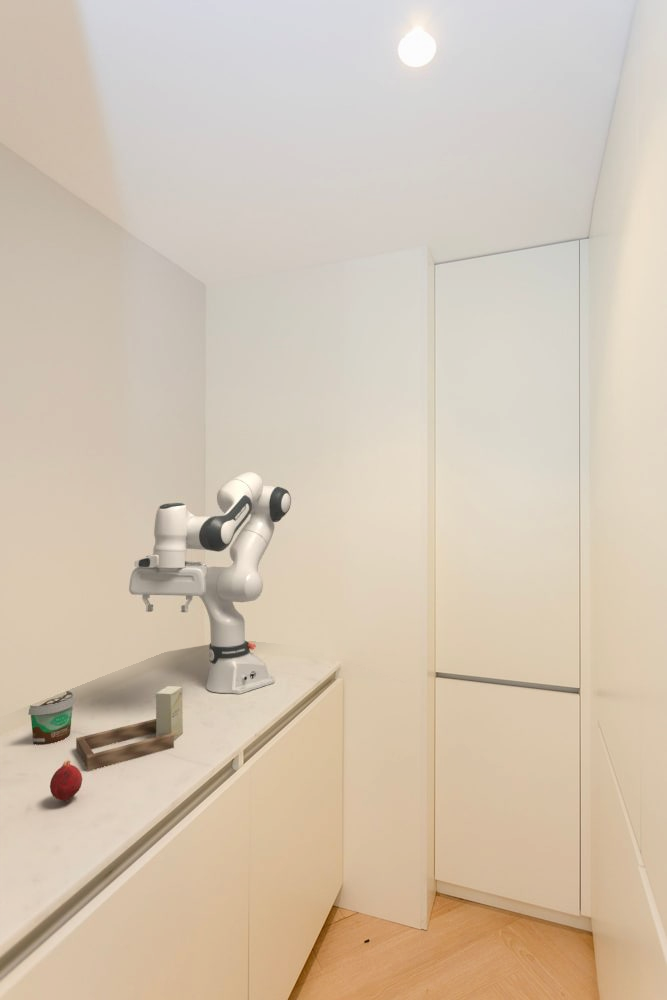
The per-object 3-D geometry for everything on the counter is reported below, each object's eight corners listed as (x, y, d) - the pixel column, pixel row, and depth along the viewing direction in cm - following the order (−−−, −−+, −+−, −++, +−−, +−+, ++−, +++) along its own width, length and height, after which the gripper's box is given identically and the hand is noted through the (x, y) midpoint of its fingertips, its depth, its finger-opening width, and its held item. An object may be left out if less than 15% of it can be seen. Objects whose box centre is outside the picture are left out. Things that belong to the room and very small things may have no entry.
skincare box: (171, 743, 134) (171, 694, 134) (155, 741, 135) (155, 693, 135) (183, 732, 140) (183, 686, 140) (167, 731, 141) (167, 685, 141)
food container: (46, 750, 130) (46, 709, 131) (28, 746, 133) (28, 706, 133) (86, 730, 142) (86, 692, 142) (68, 727, 144) (68, 690, 144)
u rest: (156, 730, 142) (156, 718, 142) (173, 747, 131) (173, 735, 131) (76, 750, 130) (76, 738, 130) (88, 771, 120) (88, 757, 120)
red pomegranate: (79, 806, 106) (79, 765, 106) (47, 811, 104) (47, 770, 104) (84, 791, 111) (84, 752, 111) (53, 796, 110) (53, 756, 110)
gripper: (209, 561, 152) (207, 610, 151) (135, 559, 150) (132, 609, 149) (205, 562, 146) (203, 614, 145) (128, 560, 144) (125, 612, 143)
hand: (166, 611), depth 147 cm, fingers open, 8 cm apart
